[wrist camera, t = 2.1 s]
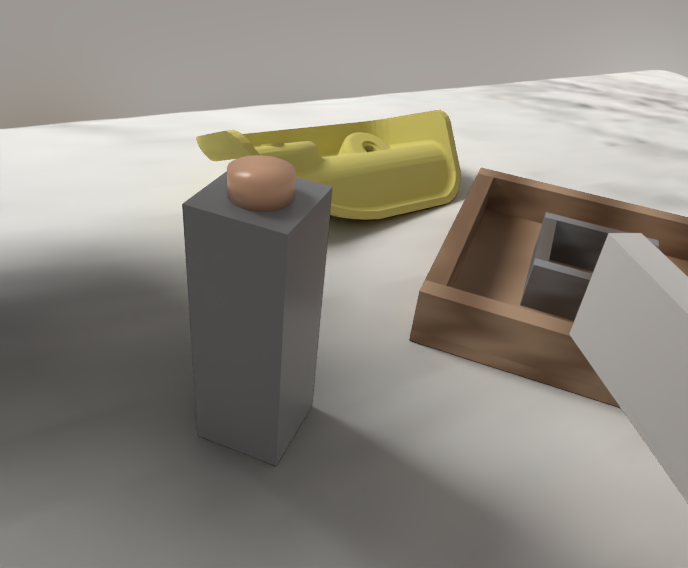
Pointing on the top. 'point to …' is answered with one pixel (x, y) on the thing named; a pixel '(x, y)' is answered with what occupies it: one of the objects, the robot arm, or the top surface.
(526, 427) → the top surface
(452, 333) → the box
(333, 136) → the plastic component
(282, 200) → the grey tall block
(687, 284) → the robot arm
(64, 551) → the top surface
